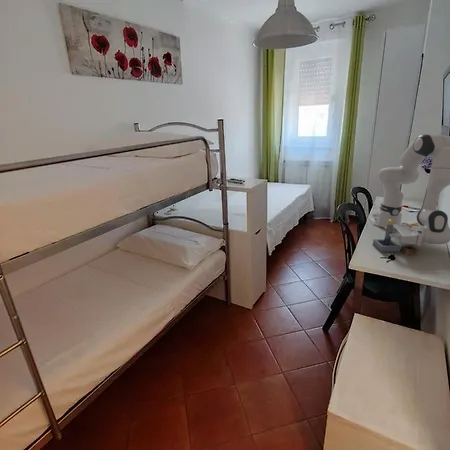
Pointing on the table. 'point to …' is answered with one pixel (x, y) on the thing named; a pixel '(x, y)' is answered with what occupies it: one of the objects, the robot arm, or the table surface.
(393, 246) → the tray
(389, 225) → the pin
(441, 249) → the table surface
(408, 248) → the collar
